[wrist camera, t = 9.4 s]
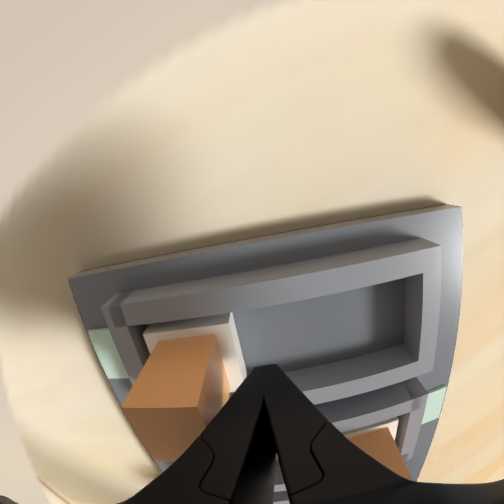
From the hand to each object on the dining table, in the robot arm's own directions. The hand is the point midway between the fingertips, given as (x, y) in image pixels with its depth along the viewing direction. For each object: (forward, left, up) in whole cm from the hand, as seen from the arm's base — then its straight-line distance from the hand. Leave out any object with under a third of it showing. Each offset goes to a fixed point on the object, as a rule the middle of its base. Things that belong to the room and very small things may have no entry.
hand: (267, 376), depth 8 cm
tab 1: (0, +2, -2) cm, 3 cm away
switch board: (-7, -1, -4) cm, 8 cm away
